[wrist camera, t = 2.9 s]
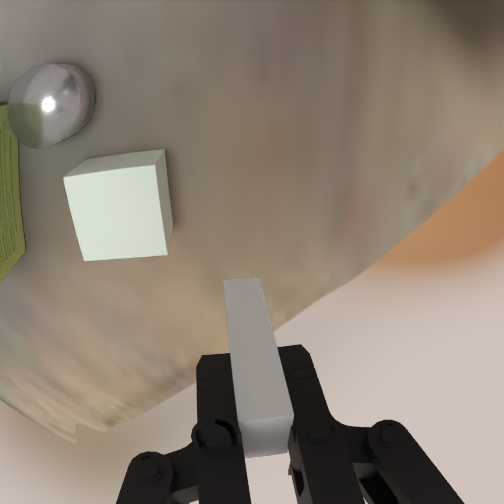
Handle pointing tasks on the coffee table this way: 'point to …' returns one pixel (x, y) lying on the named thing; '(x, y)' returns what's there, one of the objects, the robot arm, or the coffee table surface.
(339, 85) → the coffee table surface
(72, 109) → the metal tin
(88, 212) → the sage block
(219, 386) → the robot arm
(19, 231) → the protein box
